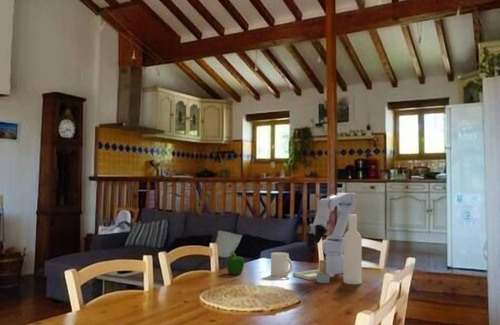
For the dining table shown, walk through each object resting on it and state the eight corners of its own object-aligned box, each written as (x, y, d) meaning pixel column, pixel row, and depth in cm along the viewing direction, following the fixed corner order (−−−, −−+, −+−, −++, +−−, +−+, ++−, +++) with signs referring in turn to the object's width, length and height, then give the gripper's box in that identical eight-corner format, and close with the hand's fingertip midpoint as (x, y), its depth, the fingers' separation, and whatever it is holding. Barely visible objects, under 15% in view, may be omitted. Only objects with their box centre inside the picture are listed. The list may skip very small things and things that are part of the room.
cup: (322, 280, 205) (322, 272, 205) (332, 282, 200) (332, 274, 200) (313, 282, 201) (314, 273, 201) (323, 284, 197) (323, 275, 197)
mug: (298, 277, 211) (298, 254, 212) (285, 279, 206) (286, 256, 206) (279, 273, 220) (279, 251, 221) (267, 275, 215) (267, 253, 215)
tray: (317, 273, 222) (317, 269, 222) (334, 277, 213) (334, 273, 213) (293, 276, 212) (293, 272, 212) (310, 280, 204) (310, 276, 204)
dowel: (322, 280, 203) (323, 260, 203) (327, 281, 200) (328, 261, 201) (318, 281, 201) (318, 260, 202) (323, 282, 199) (323, 261, 199)
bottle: (343, 280, 205) (343, 213, 207) (361, 281, 204) (361, 214, 205) (343, 284, 197) (343, 214, 199) (362, 285, 196) (362, 215, 197)
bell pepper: (247, 274, 216) (247, 253, 217) (232, 276, 212) (232, 254, 212) (237, 271, 223) (237, 250, 224) (223, 273, 219) (223, 252, 219)
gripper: (306, 221, 219) (298, 245, 211) (320, 210, 207) (311, 235, 199) (319, 228, 219) (311, 252, 211) (333, 217, 207) (325, 242, 200)
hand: (312, 244), depth 205 cm, fingers open, 7 cm apart
